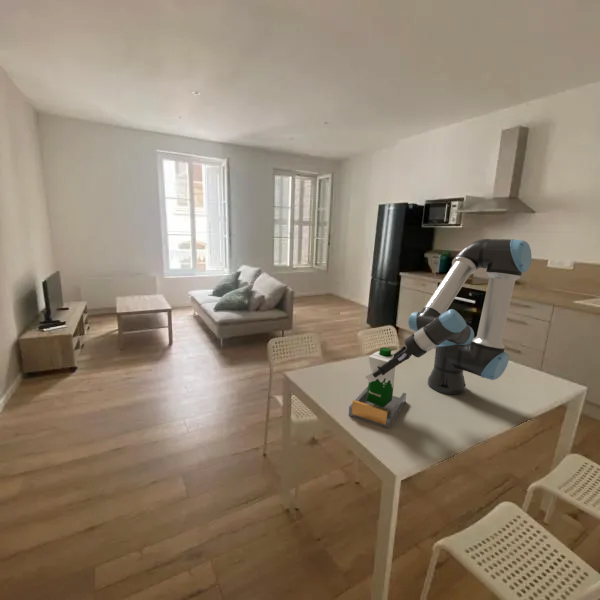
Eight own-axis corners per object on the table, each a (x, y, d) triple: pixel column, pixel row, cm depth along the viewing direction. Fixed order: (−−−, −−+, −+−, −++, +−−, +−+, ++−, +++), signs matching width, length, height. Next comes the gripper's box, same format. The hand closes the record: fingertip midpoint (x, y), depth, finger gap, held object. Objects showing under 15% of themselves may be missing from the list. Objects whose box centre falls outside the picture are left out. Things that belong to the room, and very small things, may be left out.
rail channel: (369, 391, 135) (370, 378, 134) (405, 401, 128) (406, 387, 127) (348, 415, 117) (349, 400, 116) (389, 428, 109) (390, 413, 108)
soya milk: (395, 400, 122) (399, 350, 119) (384, 409, 116) (388, 357, 112) (374, 392, 128) (377, 345, 124) (362, 401, 121) (366, 350, 117)
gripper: (421, 361, 100) (368, 394, 112) (433, 343, 118) (387, 372, 130) (405, 342, 102) (355, 376, 113) (420, 326, 120) (375, 357, 131)
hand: (372, 374), depth 121 cm, fingers closed on soya milk, 9 cm apart
